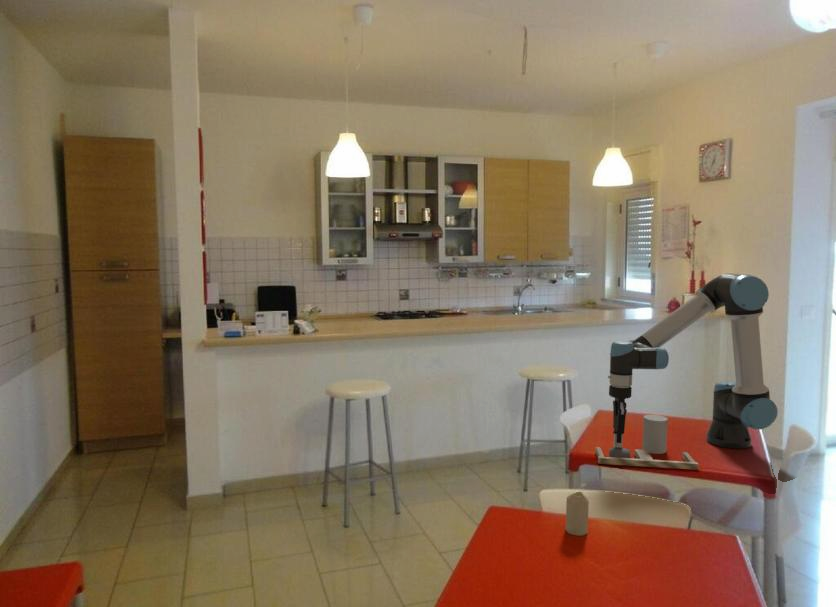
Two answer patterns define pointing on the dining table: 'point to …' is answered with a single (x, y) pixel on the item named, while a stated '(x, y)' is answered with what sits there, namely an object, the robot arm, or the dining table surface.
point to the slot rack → (647, 460)
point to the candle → (577, 514)
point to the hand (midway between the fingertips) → (617, 450)
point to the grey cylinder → (654, 434)
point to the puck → (619, 452)
